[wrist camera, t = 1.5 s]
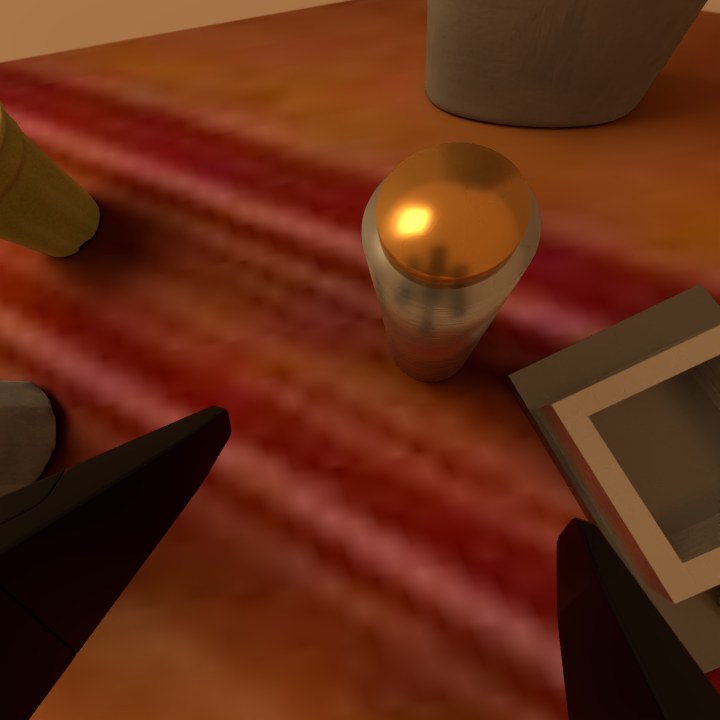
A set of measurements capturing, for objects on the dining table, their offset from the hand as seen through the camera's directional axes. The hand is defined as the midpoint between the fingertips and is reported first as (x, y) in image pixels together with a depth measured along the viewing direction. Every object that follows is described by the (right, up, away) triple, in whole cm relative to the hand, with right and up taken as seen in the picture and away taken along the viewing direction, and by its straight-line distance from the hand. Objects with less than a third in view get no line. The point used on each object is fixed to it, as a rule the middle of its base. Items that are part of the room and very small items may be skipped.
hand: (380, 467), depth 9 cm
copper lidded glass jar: (+4, +4, +14) cm, 15 cm away
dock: (+17, -3, +10) cm, 20 cm away
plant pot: (-25, +14, +21) cm, 36 cm away
